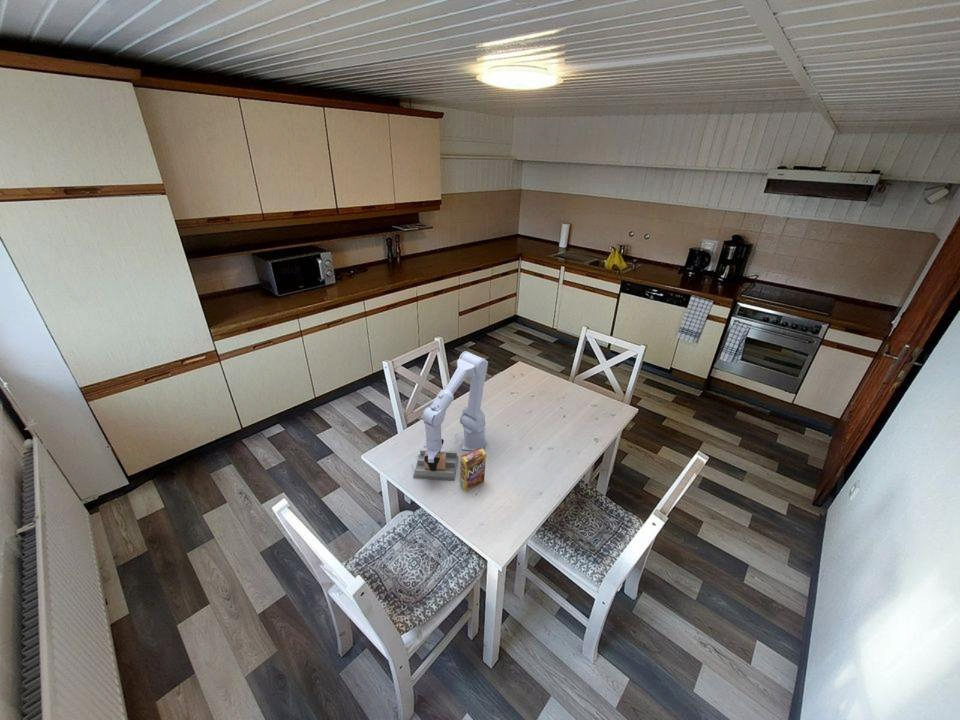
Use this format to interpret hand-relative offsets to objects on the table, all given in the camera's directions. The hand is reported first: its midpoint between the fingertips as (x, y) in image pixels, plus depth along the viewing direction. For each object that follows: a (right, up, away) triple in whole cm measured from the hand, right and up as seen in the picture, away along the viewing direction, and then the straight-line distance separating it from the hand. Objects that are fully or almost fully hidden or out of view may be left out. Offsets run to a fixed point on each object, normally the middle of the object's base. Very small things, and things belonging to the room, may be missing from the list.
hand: (434, 463), depth 150 cm
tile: (0, -3, +2) cm, 4 cm away
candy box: (+15, -8, -2) cm, 16 cm away
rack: (0, -3, +5) cm, 6 cm away
